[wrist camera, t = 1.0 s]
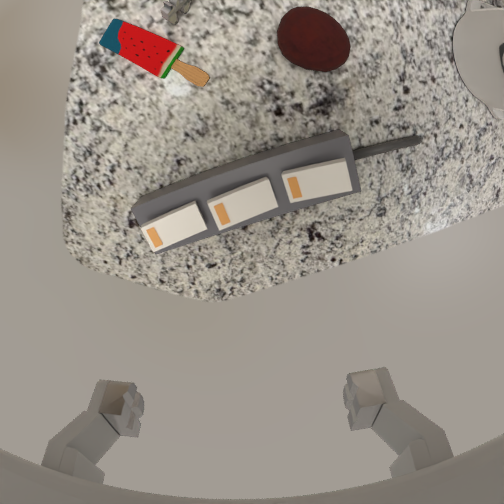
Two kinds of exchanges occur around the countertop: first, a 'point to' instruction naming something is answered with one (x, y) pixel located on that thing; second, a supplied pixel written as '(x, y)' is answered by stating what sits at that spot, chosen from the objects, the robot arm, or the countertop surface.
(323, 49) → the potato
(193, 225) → the block
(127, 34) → the popsicle
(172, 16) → the caliper
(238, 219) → the rocker
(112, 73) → the countertop surface
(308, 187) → the rocker
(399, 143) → the power strip
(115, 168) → the countertop surface
